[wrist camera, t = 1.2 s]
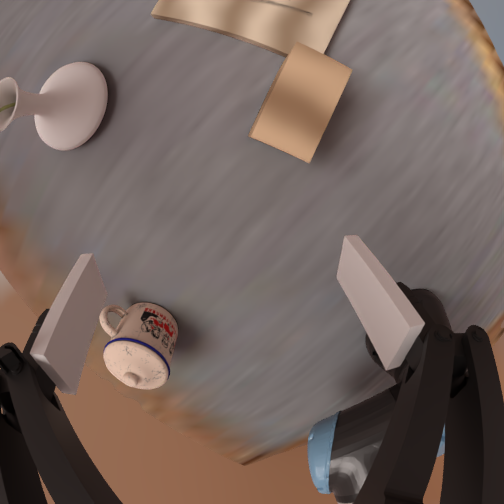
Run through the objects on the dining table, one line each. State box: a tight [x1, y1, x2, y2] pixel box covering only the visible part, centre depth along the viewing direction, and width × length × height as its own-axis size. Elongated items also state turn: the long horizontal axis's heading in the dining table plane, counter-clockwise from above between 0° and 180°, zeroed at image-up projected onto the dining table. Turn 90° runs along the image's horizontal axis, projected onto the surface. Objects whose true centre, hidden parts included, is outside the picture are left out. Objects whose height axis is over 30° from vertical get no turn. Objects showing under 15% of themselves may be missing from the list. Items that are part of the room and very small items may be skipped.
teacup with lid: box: [100, 302, 178, 389], centre depth 33 cm, size 12×9×12 cm
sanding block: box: [248, 42, 352, 163], centre depth 23 cm, size 9×5×10 cm, turn 157°
